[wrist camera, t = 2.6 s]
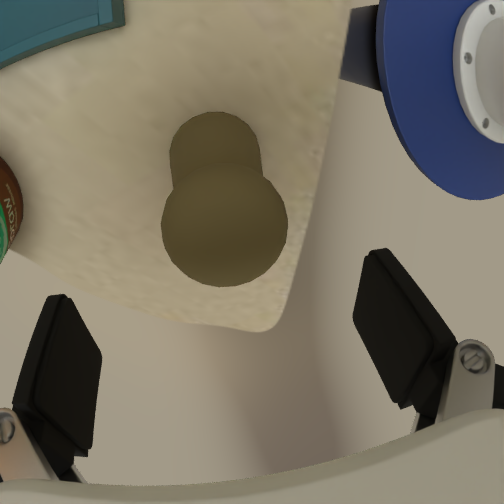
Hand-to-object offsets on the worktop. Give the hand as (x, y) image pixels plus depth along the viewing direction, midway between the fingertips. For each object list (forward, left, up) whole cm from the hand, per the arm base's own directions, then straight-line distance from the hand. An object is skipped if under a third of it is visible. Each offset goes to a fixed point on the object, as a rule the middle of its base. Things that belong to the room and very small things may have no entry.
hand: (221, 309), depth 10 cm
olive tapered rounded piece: (-1, 0, -14) cm, 14 cm away
